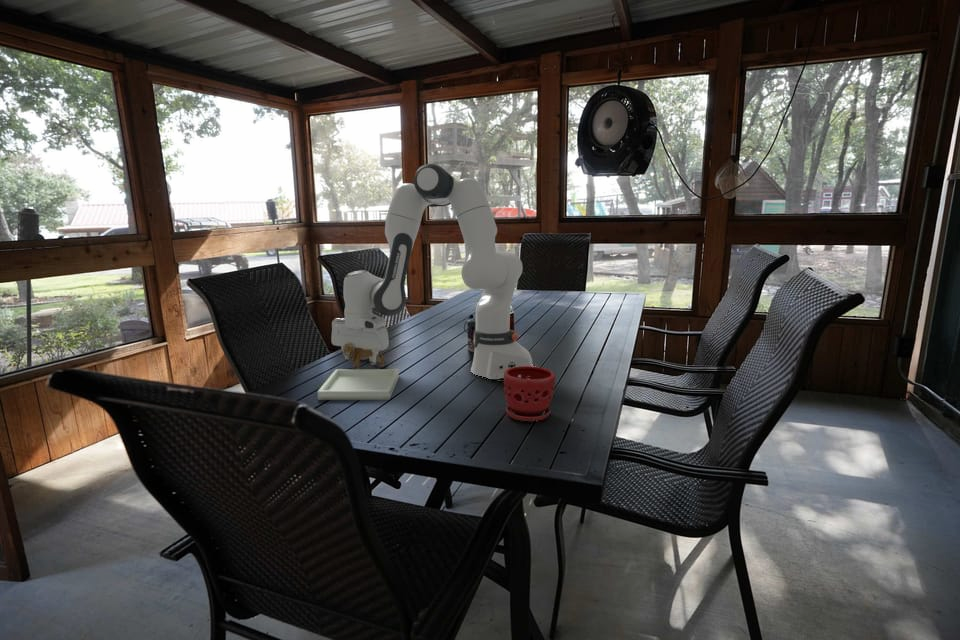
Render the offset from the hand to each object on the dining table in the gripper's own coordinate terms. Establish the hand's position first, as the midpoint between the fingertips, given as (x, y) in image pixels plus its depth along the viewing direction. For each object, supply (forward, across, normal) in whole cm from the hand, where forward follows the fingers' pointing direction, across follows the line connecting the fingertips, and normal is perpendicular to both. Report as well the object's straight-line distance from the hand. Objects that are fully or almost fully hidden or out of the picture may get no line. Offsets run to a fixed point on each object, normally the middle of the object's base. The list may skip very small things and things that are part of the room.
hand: (360, 360), depth 173 cm
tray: (+3, +10, -16) cm, 20 cm away
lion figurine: (+3, +1, +1) cm, 3 cm away
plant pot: (+3, +63, -19) cm, 66 cm away
